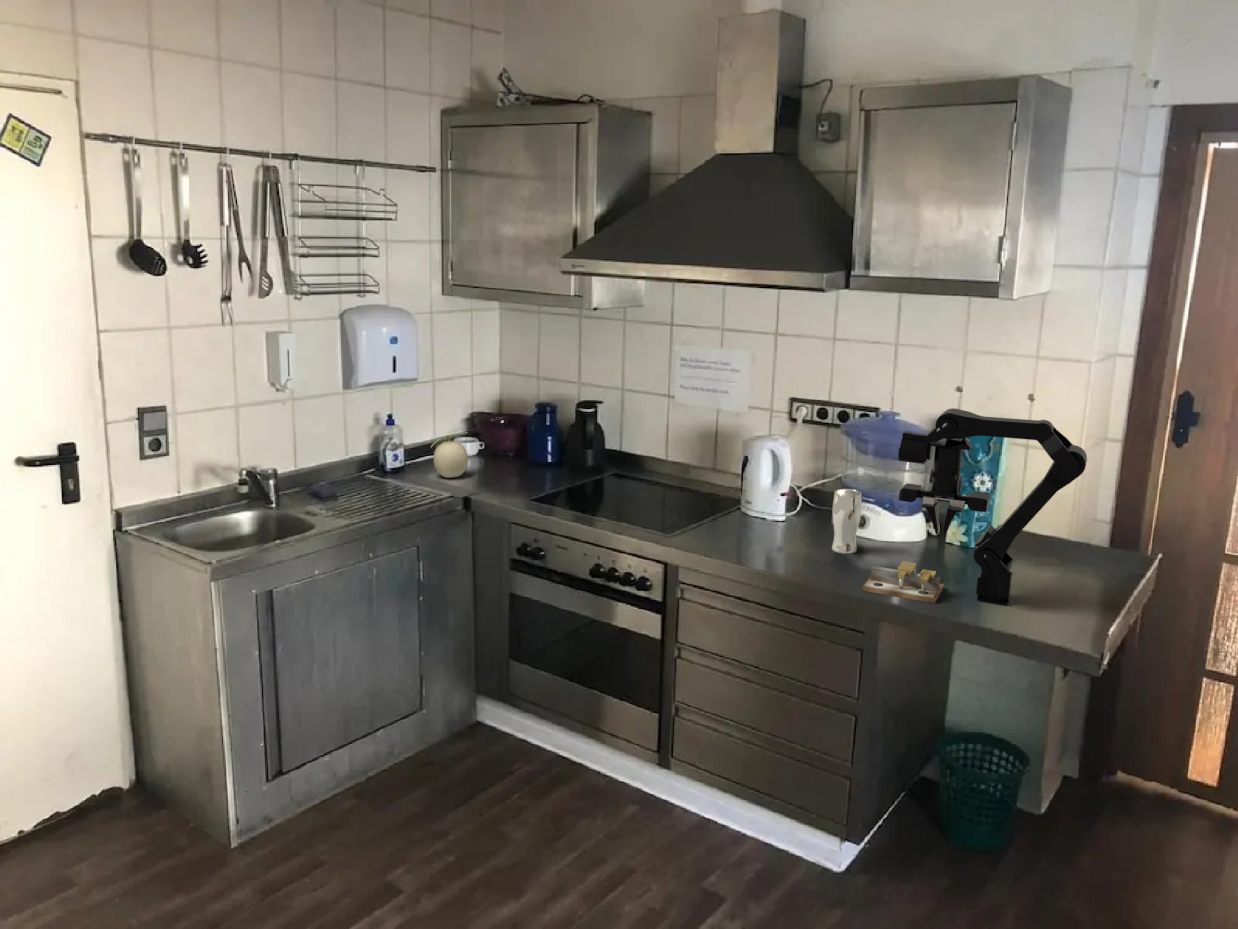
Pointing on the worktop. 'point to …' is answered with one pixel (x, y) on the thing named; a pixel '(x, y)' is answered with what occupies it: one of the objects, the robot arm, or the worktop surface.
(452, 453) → the fruit
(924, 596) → the board
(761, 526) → the worktop surface
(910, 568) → the slider
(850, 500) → the beer glass
